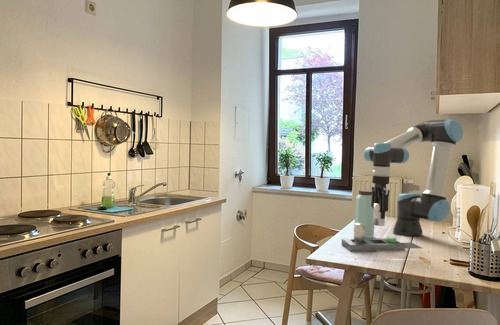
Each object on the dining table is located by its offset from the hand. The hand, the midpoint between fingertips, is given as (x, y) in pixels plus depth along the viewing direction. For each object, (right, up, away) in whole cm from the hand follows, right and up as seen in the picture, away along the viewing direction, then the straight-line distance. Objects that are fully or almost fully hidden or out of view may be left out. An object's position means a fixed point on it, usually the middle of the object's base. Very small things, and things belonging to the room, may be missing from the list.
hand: (378, 224), depth 173 cm
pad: (+16, -12, +4) cm, 20 cm away
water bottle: (-1, -11, +20) cm, 22 cm away
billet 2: (0, 0, 0) cm, 0 cm away
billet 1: (-10, -10, -1) cm, 14 cm away
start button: (+7, -9, +1) cm, 11 cm away
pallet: (-3, -11, 0) cm, 12 cm away
